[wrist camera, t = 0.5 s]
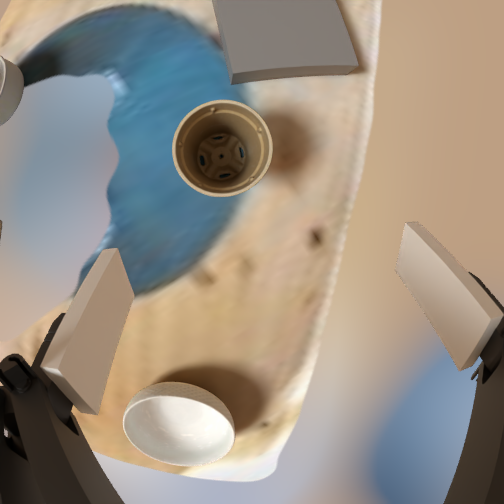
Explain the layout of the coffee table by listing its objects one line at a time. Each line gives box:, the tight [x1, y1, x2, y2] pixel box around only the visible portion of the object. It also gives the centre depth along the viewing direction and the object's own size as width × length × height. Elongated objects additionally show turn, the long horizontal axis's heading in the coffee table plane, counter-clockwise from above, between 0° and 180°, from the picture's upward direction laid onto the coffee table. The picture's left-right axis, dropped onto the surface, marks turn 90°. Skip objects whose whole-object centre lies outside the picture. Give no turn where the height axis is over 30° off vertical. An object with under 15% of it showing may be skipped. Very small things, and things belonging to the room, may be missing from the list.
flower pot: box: [172, 100, 273, 197], centre depth 30 cm, size 9×9×9 cm
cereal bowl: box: [123, 382, 235, 466], centre depth 38 cm, size 17×17×7 cm
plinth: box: [212, 0, 359, 85], centre depth 29 cm, size 16×16×4 cm
